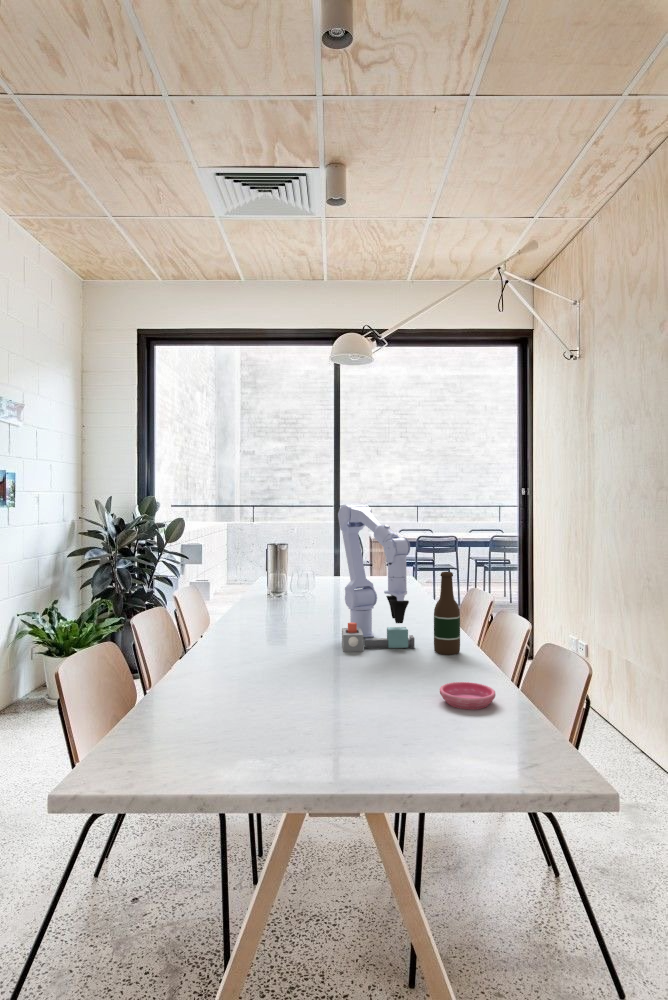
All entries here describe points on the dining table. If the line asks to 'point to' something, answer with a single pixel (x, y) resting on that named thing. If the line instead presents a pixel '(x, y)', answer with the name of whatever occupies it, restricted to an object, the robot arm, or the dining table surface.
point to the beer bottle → (446, 619)
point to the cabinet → (352, 640)
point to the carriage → (397, 637)
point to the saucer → (467, 695)
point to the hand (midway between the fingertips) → (397, 620)
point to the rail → (385, 642)
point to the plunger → (352, 627)
